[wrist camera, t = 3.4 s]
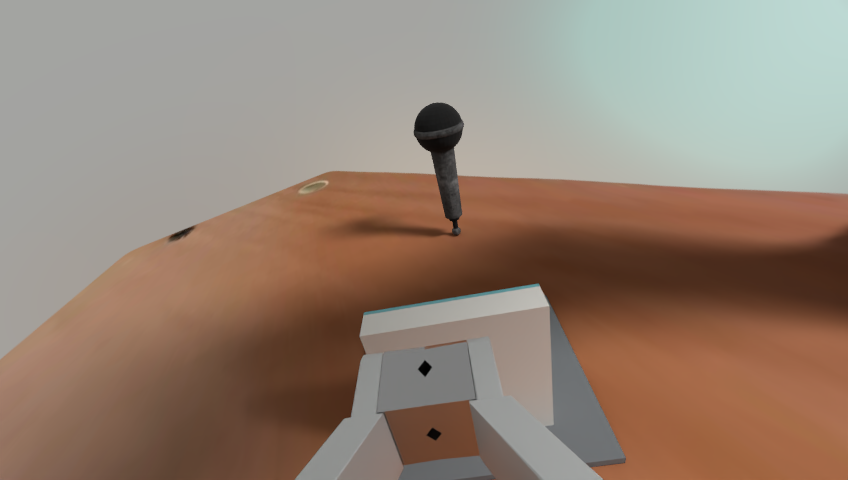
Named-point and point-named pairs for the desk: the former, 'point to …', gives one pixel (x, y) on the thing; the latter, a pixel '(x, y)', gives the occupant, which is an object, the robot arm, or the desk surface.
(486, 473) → the mat
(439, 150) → the microphone
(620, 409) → the desk surface
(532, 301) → the tile
